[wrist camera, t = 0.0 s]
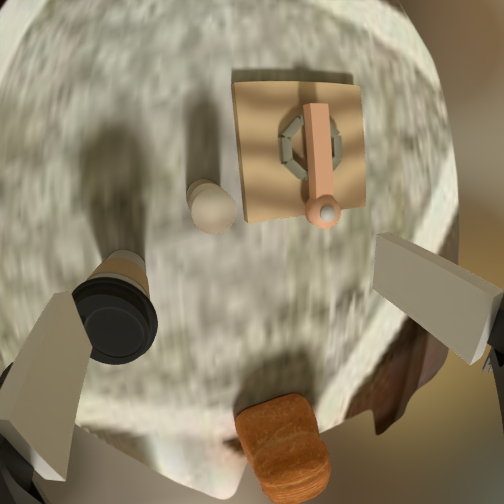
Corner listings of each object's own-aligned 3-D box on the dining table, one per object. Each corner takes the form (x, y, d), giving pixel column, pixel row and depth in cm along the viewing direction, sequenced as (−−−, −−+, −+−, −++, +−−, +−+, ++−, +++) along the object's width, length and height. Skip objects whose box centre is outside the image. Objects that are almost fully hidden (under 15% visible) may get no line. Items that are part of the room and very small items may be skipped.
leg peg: (184, 182, 37) (188, 193, 27) (218, 176, 37) (234, 186, 28) (188, 215, 38) (195, 237, 29) (222, 210, 39) (239, 230, 30)
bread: (253, 465, 62) (273, 519, 46) (227, 410, 52) (250, 483, 36) (311, 445, 64) (338, 495, 49) (303, 384, 55) (343, 449, 39)
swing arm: (331, 222, 39) (342, 227, 37) (305, 226, 39) (314, 232, 36) (325, 105, 34) (336, 103, 31) (297, 105, 33) (306, 102, 31)
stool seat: (231, 85, 34) (237, 79, 31) (352, 87, 38) (366, 84, 34) (244, 219, 40) (251, 226, 37) (358, 203, 44) (371, 208, 41)
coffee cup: (87, 240, 35) (49, 291, 22) (154, 232, 38) (147, 280, 24) (101, 303, 39) (79, 373, 25) (164, 297, 41) (165, 366, 27)
